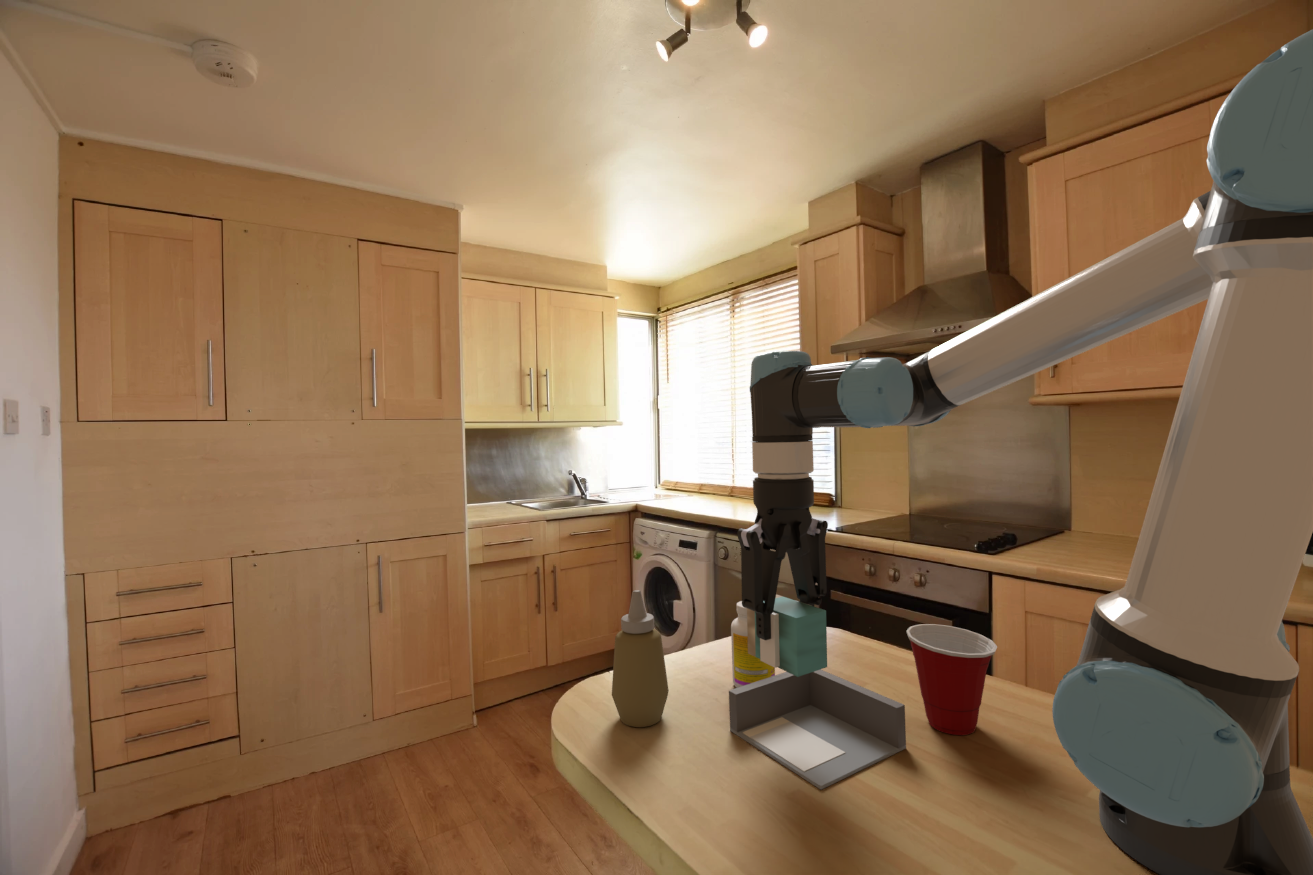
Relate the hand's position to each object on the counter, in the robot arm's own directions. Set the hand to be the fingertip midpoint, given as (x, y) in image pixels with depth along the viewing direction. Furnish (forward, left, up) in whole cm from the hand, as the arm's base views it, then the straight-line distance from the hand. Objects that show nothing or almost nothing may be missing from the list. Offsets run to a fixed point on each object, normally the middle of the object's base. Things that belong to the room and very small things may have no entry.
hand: (786, 657), depth 75 cm
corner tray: (-1, -4, -11) cm, 12 cm away
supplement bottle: (+16, -8, -11) cm, 21 cm away
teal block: (0, 0, 0) cm, 0 cm away
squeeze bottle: (+17, +12, -11) cm, 24 cm away
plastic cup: (-9, -21, -11) cm, 26 cm away
